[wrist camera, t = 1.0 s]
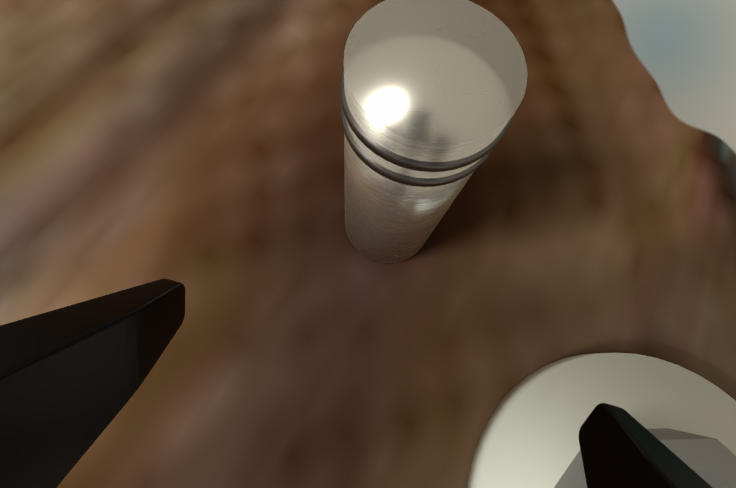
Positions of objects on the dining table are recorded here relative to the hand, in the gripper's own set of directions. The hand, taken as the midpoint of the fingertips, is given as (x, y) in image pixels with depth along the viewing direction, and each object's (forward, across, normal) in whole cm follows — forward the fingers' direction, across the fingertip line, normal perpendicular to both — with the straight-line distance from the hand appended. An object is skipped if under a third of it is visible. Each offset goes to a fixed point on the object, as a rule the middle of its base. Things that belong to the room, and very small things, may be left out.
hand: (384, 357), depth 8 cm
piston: (+15, 0, +3) cm, 15 cm away
